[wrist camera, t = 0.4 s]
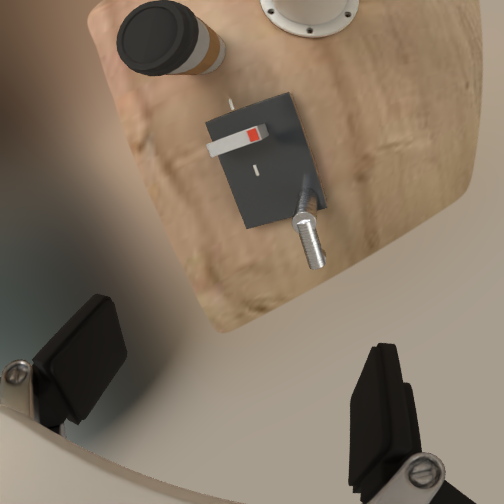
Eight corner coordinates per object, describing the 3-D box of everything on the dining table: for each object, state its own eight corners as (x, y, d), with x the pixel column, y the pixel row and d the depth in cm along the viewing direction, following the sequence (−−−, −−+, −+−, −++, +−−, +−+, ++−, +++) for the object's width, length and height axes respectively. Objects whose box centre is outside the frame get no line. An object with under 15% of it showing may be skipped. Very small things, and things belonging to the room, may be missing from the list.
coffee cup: (240, 30, 33) (199, -4, 20) (225, 86, 37) (177, 79, 24) (183, 23, 33) (123, -3, 20) (170, 77, 37) (104, 73, 24)
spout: (295, 190, 38) (288, 216, 30) (314, 185, 37) (312, 210, 29) (310, 238, 40) (307, 275, 32) (328, 234, 40) (329, 270, 31)
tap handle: (224, 151, 37) (210, 158, 33) (219, 139, 37) (205, 144, 32) (269, 135, 35) (261, 140, 31) (264, 123, 35) (256, 125, 30)
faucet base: (209, 110, 39) (200, 111, 35) (287, 82, 35) (284, 79, 32) (251, 220, 45) (246, 229, 41) (326, 199, 41) (327, 208, 38)
